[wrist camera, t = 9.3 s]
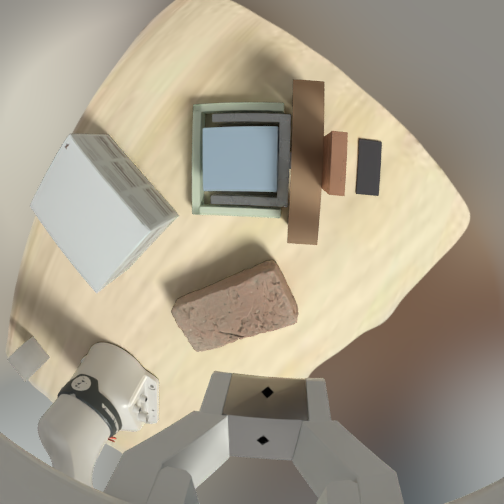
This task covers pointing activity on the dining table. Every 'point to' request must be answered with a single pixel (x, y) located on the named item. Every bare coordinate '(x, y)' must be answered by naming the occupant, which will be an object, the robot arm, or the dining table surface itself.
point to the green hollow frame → (197, 159)
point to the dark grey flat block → (369, 167)
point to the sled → (289, 160)
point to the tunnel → (306, 161)
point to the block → (241, 158)
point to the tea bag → (28, 358)
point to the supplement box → (99, 208)
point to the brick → (236, 307)
